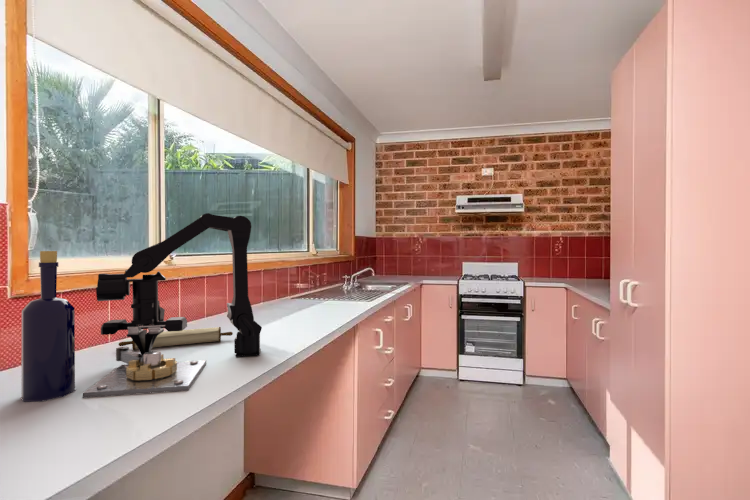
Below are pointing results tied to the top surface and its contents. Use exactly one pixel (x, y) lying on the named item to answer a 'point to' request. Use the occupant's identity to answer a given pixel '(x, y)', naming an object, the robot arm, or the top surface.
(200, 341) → the rolling pin
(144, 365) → the lever handle
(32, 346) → the bottle
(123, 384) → the flange plate
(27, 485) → the top surface
